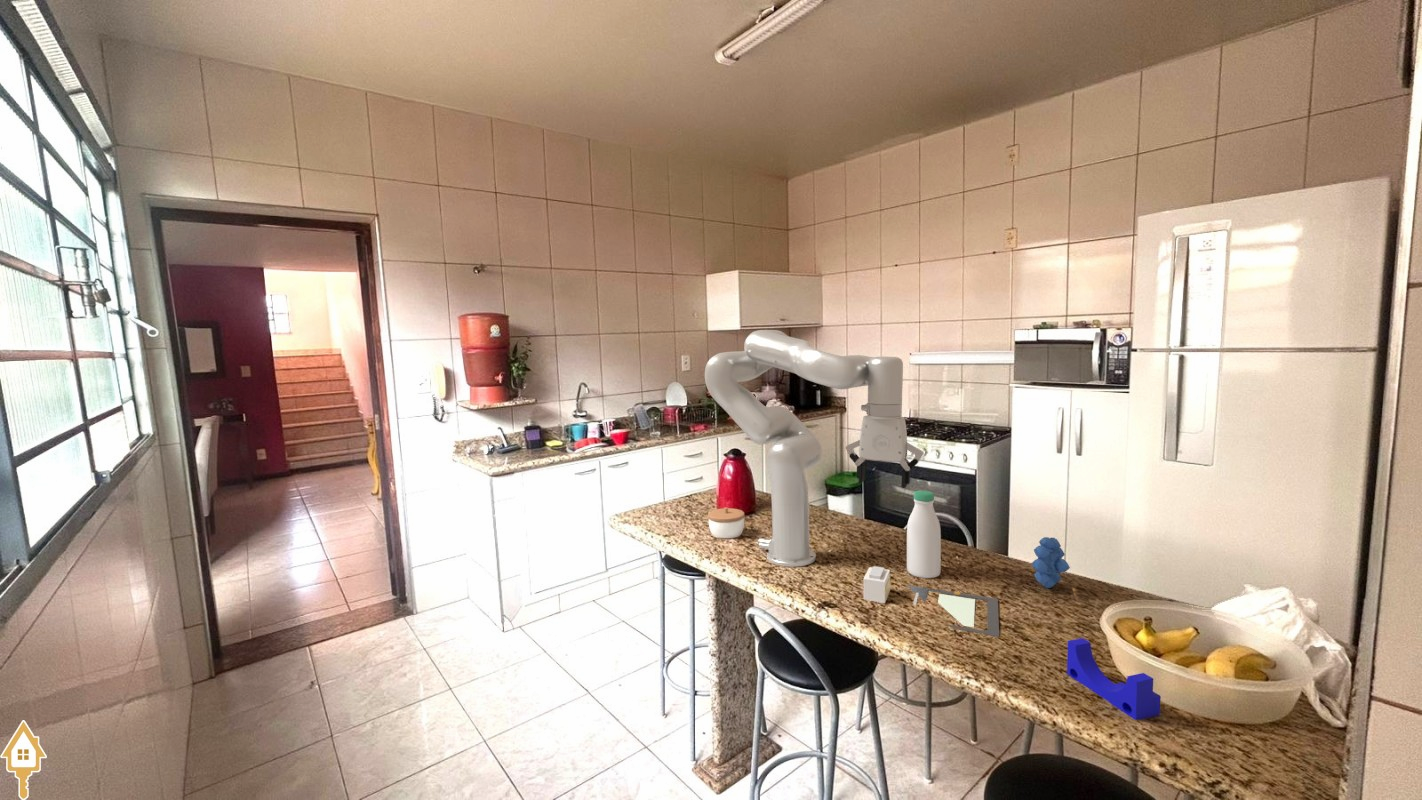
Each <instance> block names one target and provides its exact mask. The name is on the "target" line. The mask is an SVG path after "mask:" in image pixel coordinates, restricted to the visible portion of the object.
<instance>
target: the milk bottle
mask: <svg viewBox="0 0 1422 800" xmlns="http://www.w3.org/2000/svg"><path fill="white" fill-rule="evenodd" d="M913 502H914V506H913V508H912V512H911V513H910V515H909V518H908V521H907V526H906V571H907V572H908V574H910V575H911V576H914V577H915V578H916V577H918V578H923V579H933V578H937V577H939V576H940V574H941V565H942V564H941V561H942V559H941V558H942V557H941V556H942V554H941V553H942V550H941V548H942V547H941V543H942V538H941V537H942V534H941V524H940V520H939V518H938V516H937V514H936V511H935V508H934V503H935V493H934V492H933V491H930V490H917V491H914V492H913Z"/></svg>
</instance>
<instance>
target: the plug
mask: <svg viewBox="0 0 1422 800" xmlns="http://www.w3.org/2000/svg"><path fill="white" fill-rule="evenodd" d="M862 580H863V586H862V588H863V600H865V601H871V602H876V603H880V604H885V603H886V601H887V599H888V597H889V594H890V591H891V570H890V569H886V568H885V567H883V566H882V567H881V566H874V565H873V566H870V567H868V569H867V570H866V573H865V575H864V577H863V579H862Z"/></svg>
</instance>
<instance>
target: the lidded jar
mask: <svg viewBox="0 0 1422 800" xmlns="http://www.w3.org/2000/svg"><path fill="white" fill-rule="evenodd" d="M707 519H708V526H709V530H710V533H711V535H712V536H714V537H716V538H719V539H734V538H738V537H740V536H741V535H742V533H743V531H744V527H745V512H744V511H743V510H741V509H738V508H729V507H723V508H717V509H714V510H713V509H712V510H711V511H709V512H708V514H707Z"/></svg>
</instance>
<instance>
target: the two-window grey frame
mask: <svg viewBox="0 0 1422 800" xmlns="http://www.w3.org/2000/svg"><path fill="white" fill-rule="evenodd" d="M906 586H907V588H909V589H910V590H911V591H912V592H913V593H914V594H915V596H914V599H913V602H912V604H913V605H914V606H915V607H916V606H917V603H918V598H919V599H920V600H922V601H923V603H926V602H927V601H926V600H927V597H928V593H929V592H933V593H934V592H935V593H939V594H944V595H951V596H957V597H964V598H970V599H975V600H977V599H978V600H981V601H982V600H984V601H987V611H986V612H987V616H986V617H987V619H986V620H987V622H986V623H987V625H986V626H987V627H986V628H987V630H981V629H977V628H976V629H975V628H972V627H966V626H965V627H964V626H958V625H955V624H954V625H952V624H948V626H949V627H950V628H953V629H956V630H957V629H958V630H963V631H967V632H972V633H977V634H983V635H986V636H992V637H996V638H1000V623H999V622H1000V621H999V599H998V598H996V597H990V596H983V595H976V594H971V593H970V594H969V593H963V592H961V591H957V590H956V591H948V590H943V589H938V588H937V589H936V588H930V587H929V588H928V587H924V586H923V587H922V586H916V585H915V586H914V585H910V584H906Z"/></svg>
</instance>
